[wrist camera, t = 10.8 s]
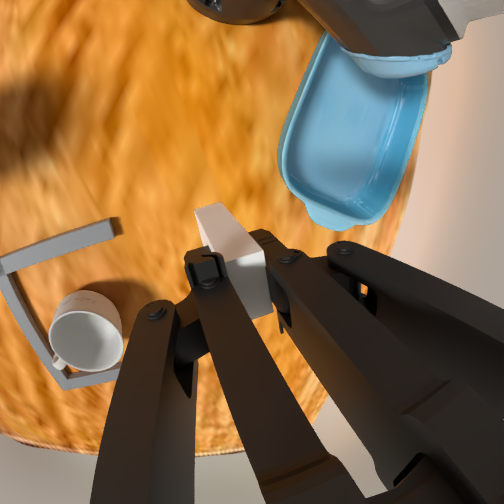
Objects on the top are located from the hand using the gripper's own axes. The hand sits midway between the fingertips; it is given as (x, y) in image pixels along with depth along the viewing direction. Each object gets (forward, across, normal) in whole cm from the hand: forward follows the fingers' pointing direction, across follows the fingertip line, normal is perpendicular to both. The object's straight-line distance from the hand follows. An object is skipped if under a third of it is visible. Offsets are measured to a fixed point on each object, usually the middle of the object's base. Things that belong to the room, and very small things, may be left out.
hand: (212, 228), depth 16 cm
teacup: (+23, -21, -16) cm, 35 cm away
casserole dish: (+25, +27, +4) cm, 37 cm away
